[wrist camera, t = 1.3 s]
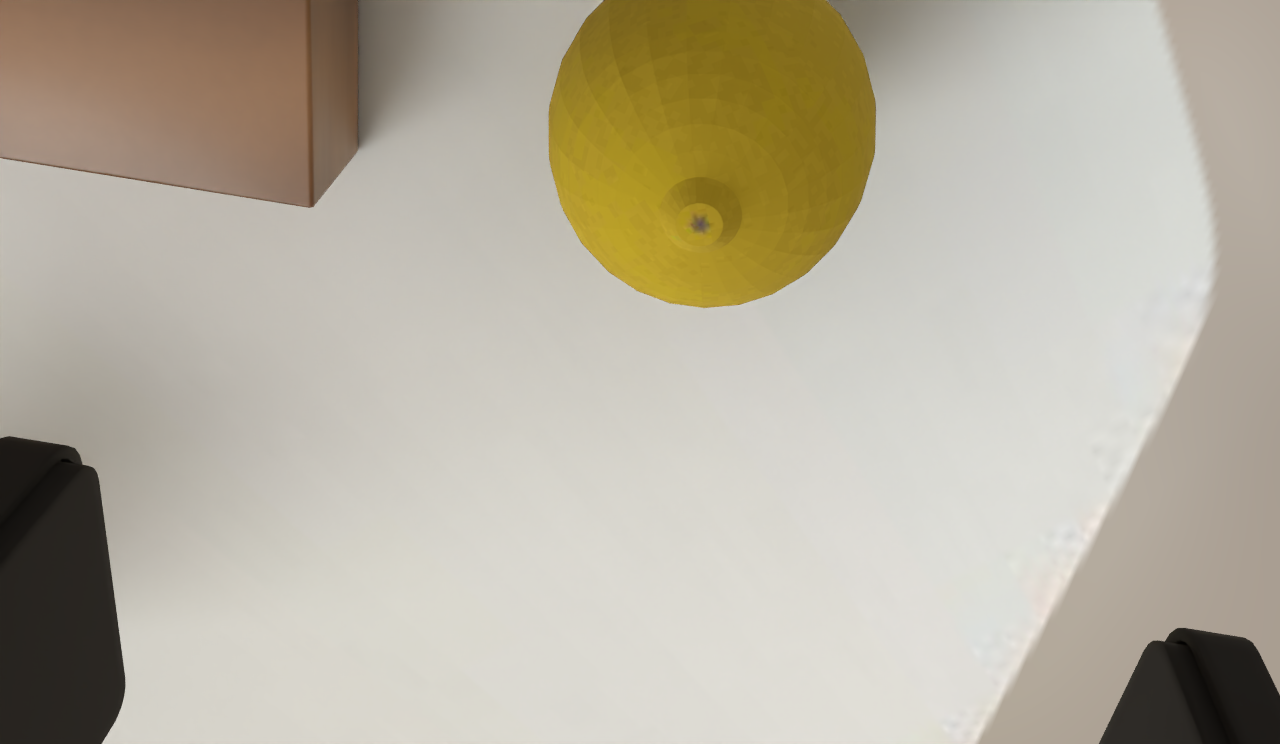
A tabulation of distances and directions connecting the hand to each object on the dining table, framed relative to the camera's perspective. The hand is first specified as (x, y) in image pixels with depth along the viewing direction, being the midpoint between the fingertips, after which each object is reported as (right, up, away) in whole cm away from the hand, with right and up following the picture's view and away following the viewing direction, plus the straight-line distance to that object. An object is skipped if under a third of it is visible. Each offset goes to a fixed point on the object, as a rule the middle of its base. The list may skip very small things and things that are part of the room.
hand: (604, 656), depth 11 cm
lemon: (+2, +9, +13) cm, 16 cm away
